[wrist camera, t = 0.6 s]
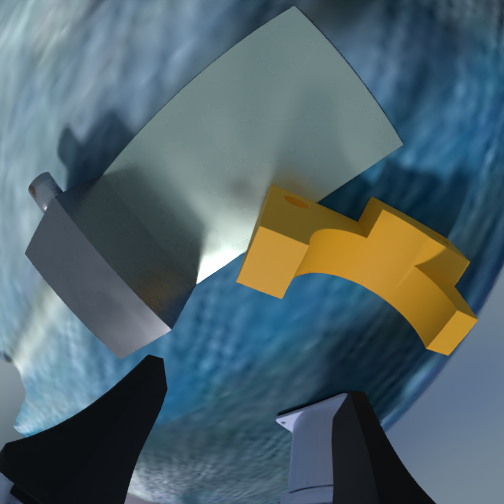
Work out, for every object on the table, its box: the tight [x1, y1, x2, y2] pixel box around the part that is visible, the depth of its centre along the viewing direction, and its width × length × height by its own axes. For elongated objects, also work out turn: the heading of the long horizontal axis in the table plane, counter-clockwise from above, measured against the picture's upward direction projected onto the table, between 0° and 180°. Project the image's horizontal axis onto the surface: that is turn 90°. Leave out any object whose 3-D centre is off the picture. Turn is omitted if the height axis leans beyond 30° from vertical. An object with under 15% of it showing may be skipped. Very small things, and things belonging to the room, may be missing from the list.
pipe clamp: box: [237, 184, 478, 355], centre depth 14 cm, size 12×4×6 cm, turn 69°
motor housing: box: [25, 6, 403, 359], centre depth 14 cm, size 13×22×5 cm, turn 129°
